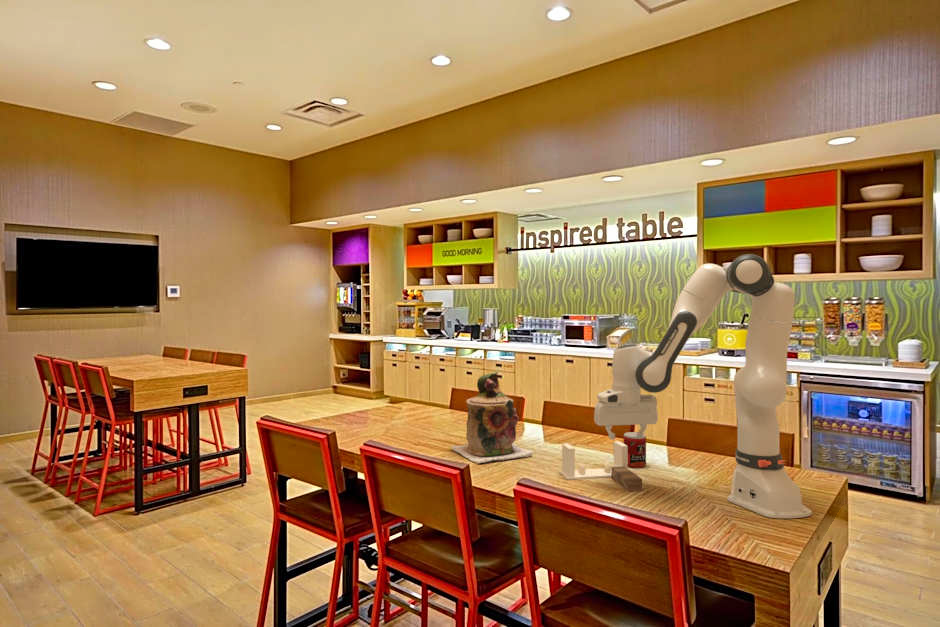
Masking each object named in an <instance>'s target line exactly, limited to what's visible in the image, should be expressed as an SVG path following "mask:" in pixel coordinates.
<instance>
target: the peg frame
mask: <svg viewBox="0 0 940 627" xmlns="http://www.w3.org/2000/svg"><path fill="white" fill-rule="evenodd" d="M561 444H562V446H561V452H562V453H561V454H562V458H561V459H562V460H561V463H562V465H561V466H562V467H561V468H562V470H559V474H560V475H562V477H564V478H565V479H566V480H584V479H587V480H588V479H602V478H603V479H604V478H605V479H606V478H611V467H612V464H611V462H610V463H609V461H603V468H586V465H585V464H584V463H583V462H578V469H575V468H576V463H575V461H576V460H575V459H576V458H575V456H576V449H575V447H573V445H571V444H570V443H566V442H565V443H561ZM623 466H624V467H626V468H627V469H629V467H628V446H627V445H625V444H624V442H621V441H619V440H616V441H615V440H614V441H613V467H623Z"/></svg>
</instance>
